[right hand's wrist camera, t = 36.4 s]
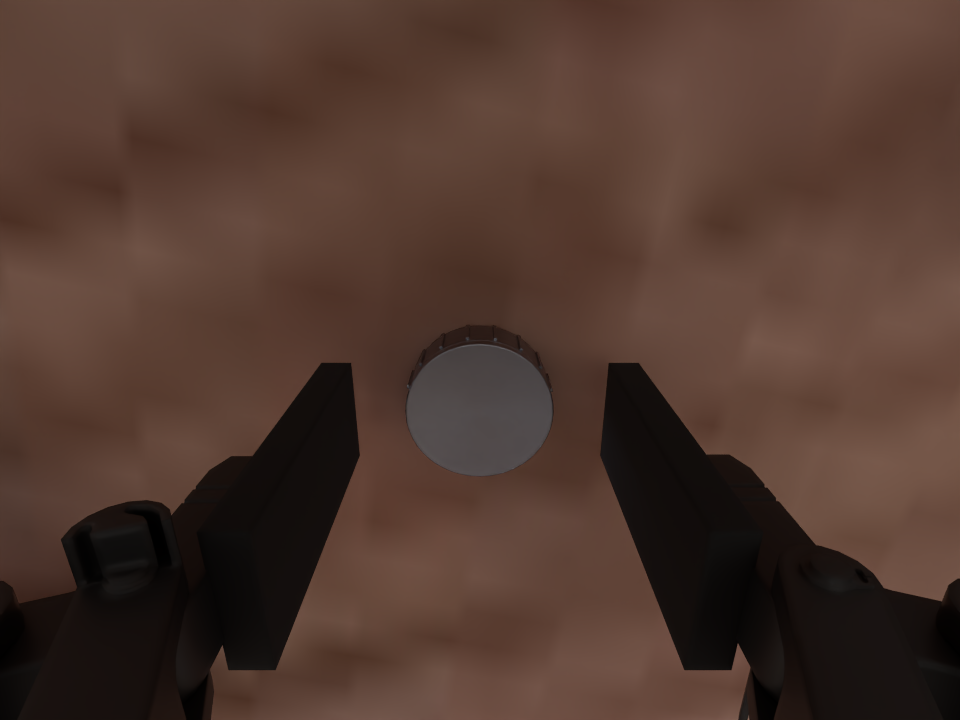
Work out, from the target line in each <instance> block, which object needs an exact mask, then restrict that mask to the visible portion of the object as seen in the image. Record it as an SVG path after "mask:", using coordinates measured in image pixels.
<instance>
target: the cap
mask: <svg viewBox="0 0 960 720" xmlns="http://www.w3.org/2000/svg"><path fill="white" fill-rule="evenodd" d="M407 388H408V389H409V391H408V395H407V400H406V410H405V411H406V420H407V425H408V428H409V431H410V433H411V436H412V438H413V440H414V441H415V443H416V444H417V446H418V447H419V448H420V450H421V451H422V452H423V453H424V454H425V455H426V456H427V457H428V458H429V459H430V460H432V461H433V462H435V463H436V464H437V465H439V466H441V467H443V468H445V469H447V470H449V471H452V472H455V473H458V474H462V475H468V476H491V475H497V474H501V473H504V472H507V471H510V470H512V469H514V468H516V467H518V466H520V465H522V464H523V463H525V462H526V461H527V460H529V459H530V458H531V457H532V456H533V455H534V454H535V453H536V452H537V451H538V450H539V448H540V447H541V446H542V445H543V443H544V441H545V440H546V438H547V436H548V433H549V431H550V428H551V425H552V421H553V400H552V395H551V392H553V390H552V387H551V383H550V380H549V377H548V374H545V371H544V368H543V365H542V363H541V361H540V357H539V354H538V352H536V353H535V352H534V350H533V349H532V348H531V347H530V346H529V345H528V344H527V343H526V342H524V341H523V340H522V339H521V337H520V336H519V335H517V336H516V335H514V334H512V333H510V332H508V331H506V330H502V329H499V328H496V326H494V325H493V327H489V326H470V325H466V327H464V328H460V329H457V330H454V331H451V332H449V333H447V334H444V333H443V334H442V335H441V337H440V338H439V339H437V340H436V341H435V342H433V343H432V344H431V345H430V346H429V347H428V348H427V349H426V350H425V349H424V350H423V351H422V355H421V358H420V359H419V361H418V363H417V365H416V368H415V371H413V370H412V373H411V376H410V380H409V383H408V386H407Z"/></svg>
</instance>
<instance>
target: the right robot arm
mask: <svg viewBox="0 0 960 720" xmlns="http://www.w3.org/2000/svg"><path fill="white" fill-rule="evenodd" d="M359 456H360V453H359V442H358V432H357V421H356V410H355V399H354V389H353V378H352V367H351V363H321V364H320V366H319V367H318V368H317V370H316V371H315V372H314V374H313V375H312V377H311V378H310V379H309V381H308V382H307V383H306V385H305V386H304V387H303V389H302V390H301V391H300V393H299V394H298V395H297V397H296V398H295V400H294V401H293V402H292V404H291V405H290V406H289V408H288V409H287V410H286V412H285V413H284V414H283V416H282V417H281V418H280V420H279V421H278V423H277V424H276V425H275V427H274V428H273V429H272V431H271V432H270V433H269V435H268V436H267V437H266V439H265V440H264V441H263V443H262V444H261V446H260V447H259V448H258V450H257V451H256V452H255V454H254V455H253V456H231V457H229V458H228V459H226V460H225V461H223V462H222V463H220V464H218V465H217V466H215V467H214V468H212V469H211V470H209V471H208V473H207V474H206V475H205V476H204V477H203V479H202V480H201V481H200V482H199V483H198V485H197V486H196V490H192V492H191V493H190V494H189V495H188V496H187V498H186V499H185V502H184V503H182V504H181V505H180V506H179V507H178V508H177V510H176V511H175V512H174V513H173V514H172V515H171V513H170V509H169V508H167V507H166V506H165V505H163V504H162V503H159V502H154V501H148V500H144V501H131V502H126V503H122V504H118V505H114V506H110V507H107V508H105V509H103V510H100V511H98V512H96V513H94V514H91V515H89V516H87V517H86V518H84V519H83V520H81V521H80V522H78V523H77V524H76V525H74V526H73V527H71V528H70V530H69V531H68V532H67V533H66V534H65V535H64V536H63V538H62V539H61V542H62V544H63V547H64V550H65V553H66V556H67V559H68V562H69V565H70V567H71V570H72V573H73V576H74V579H75V582H76V585H77V589H76V591H73V592H70V593H66V594H61V595H57V596H52V597H48V598H43V599H39V600H34V601H30V602H25V603H21V604H19V603H18V600H17V598H16V595H15V593H14V590H13V588H12V587H11V586H9V585H8V584H7V583H5V582H4V581H0V720H211V712H212V704H213V695H214V689H213V681H212V677H211V673H210V668H211V666H212V664H213V662H214V660H215V658H216V656H217V654H218V652H219V650H220V649H221V647H222V645H223V648H224V653H225V657H226V661H227V665H228V670H276V668H277V665H278V662H279V660H280V657H281V655H282V652H283V650H284V647H285V645H286V642H287V640H288V637H289V634H290V632H291V629H292V627H293V624H294V622H295V619H296V617H297V614H298V611H299V609H300V606H301V604H302V601H303V599H304V596H305V594H306V591H307V589H308V586H309V583H310V581H311V578H312V576H313V573H314V571H315V568H316V566H317V563H318V560H319V558H320V555H321V553H322V550H323V548H324V545H325V543H326V540H327V538H328V535H329V532H330V530H331V527H332V525H333V522H334V520H335V517H336V515H337V512H338V509H339V507H340V504H341V502H342V499H343V497H344V494H345V492H346V489H347V487H348V484H349V481H350V479H351V476H352V474H353V471H354V469H355V466H356V464H357V461H358V458H359ZM600 456H601V459H602V461H603V464H604V466H605V469H606V471H607V474H608V476H609V479H610V481H611V484H612V487H613V489H614V492H615V494H616V497H617V499H618V502H619V504H620V507H621V510H622V512H623V515H624V517H625V520H626V522H627V525H628V527H629V530H630V532H631V535H632V538H633V540H634V543H635V545H636V548H637V550H638V553H639V555H640V558H641V561H642V563H643V566H644V568H645V571H646V573H647V576H648V578H649V581H650V583H651V586H652V589H653V591H654V594H655V596H656V599H657V601H658V604H659V606H660V609H661V612H662V614H663V617H664V619H665V622H666V624H667V627H668V629H669V632H670V634H671V637H672V640H673V642H674V645H675V647H676V650H677V652H678V655H679V657H680V660H681V663H682V665H683V668H684V670H732V665H733V661H734V657H735V653H736V648H737V644H739V646H740V648H741V650H742V651H743V653H744V655H745V657H746V659H747V661H748V663H749V665H750V667H751V669H750V673H749V677H748V681H747V684H746V688H745V692H744V696H743V700H742V704H741V708H740V712H739V719H738V720H747V719H748V715H749V719H750V720H960V579H957V580H955V581H954V582H952V583H951V584H949V585H948V588H947V590H946V593H945V595H944V598H943V600H942V601H937V600H933V599H928V598H923V597H919V596H914V595H910V594H905V593H901V592H896V591H892V590H888V589H885V588H883V586H882V585H881V583H880V582H879V581H878V579H877V578H876V577H875V575H874V574H873V573H872V572H871V571H869V570H868V569H867V568H866V567H864V566H863V565H862V564H861V563H859V562H858V561H856V560H854V559H852V558H850V557H848V556H846V555H844V554H842V553H840V552H838V551H835V550H832V549H828V548H825V547H822V546H817V545H815V544H814V542H813V541H812V540H811V539H810V538H809V537H808V535H807V534H806V533H805V532H804V531H803V529H802V528H801V527H800V526H799V525H798V524H797V522H796V521H795V520H794V519H793V518H792V516H791V515H790V514H789V513H788V512H787V511H786V509H785V508H784V507H783V506H782V505H781V503H780V502H779V501H776V498H775V496H774V495H773V494H772V493H771V492H770V490H769V489H768V488H765V487H764V483H763V482H762V481H761V480H760V479H759V477H758V476H757V475H756V474H755V473H754V472H753V470H752V469H751V468H749V467H748V466H746V465H745V464H743V463H742V462H740V461H738V460H737V459H735V458H734V457H732V456H730V455H706V454H705V452H704V451H703V450H702V448H701V447H700V446H699V444H698V443H697V441H696V440H695V439H694V437H693V436H692V435H691V433H690V432H689V431H688V429H687V428H686V427H685V425H684V424H683V423H682V421H681V420H680V418H679V417H678V416H677V414H676V413H675V412H674V410H673V409H672V408H671V406H670V405H669V404H668V402H667V401H666V400H665V398H664V397H663V395H662V394H661V393H660V391H659V390H658V389H657V387H656V386H655V385H654V383H653V382H652V381H651V379H650V378H649V377H648V375H647V374H646V372H645V371H644V370H643V368H642V367H641V366H640V364H639V363H609V367H608V378H607V388H606V399H605V410H604V421H603V431H602V442H601V453H600Z"/></svg>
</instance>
